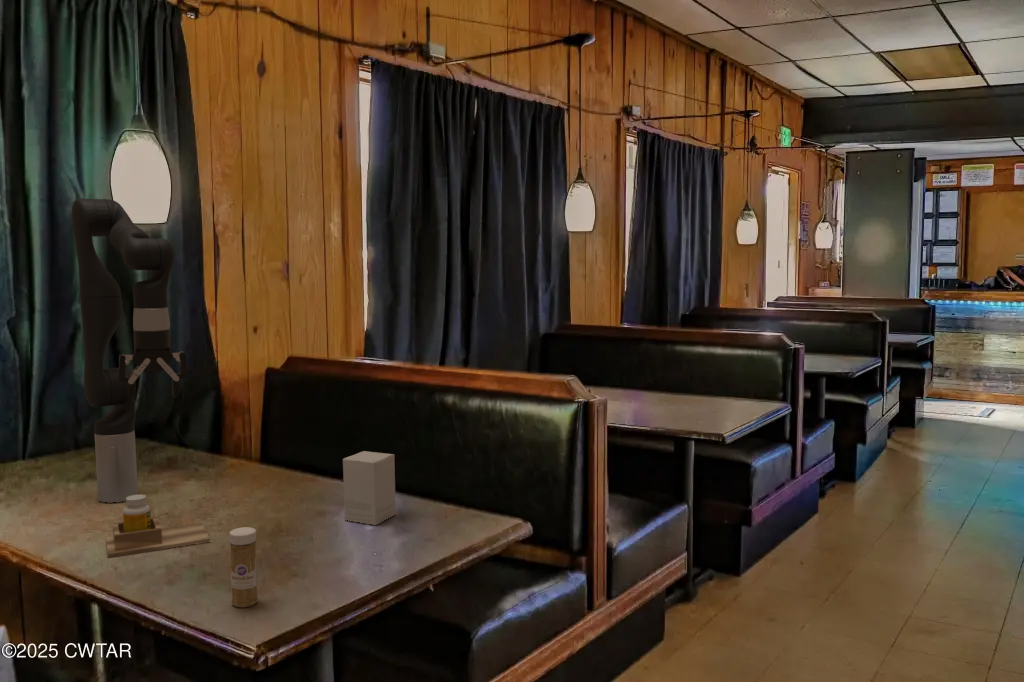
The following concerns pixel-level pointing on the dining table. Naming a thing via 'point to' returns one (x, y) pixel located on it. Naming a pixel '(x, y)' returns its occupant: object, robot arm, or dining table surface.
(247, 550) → the sprinkles bottle
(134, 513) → the supplement bottle
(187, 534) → the wooden stand
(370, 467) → the supplement box
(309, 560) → the dining table surface
